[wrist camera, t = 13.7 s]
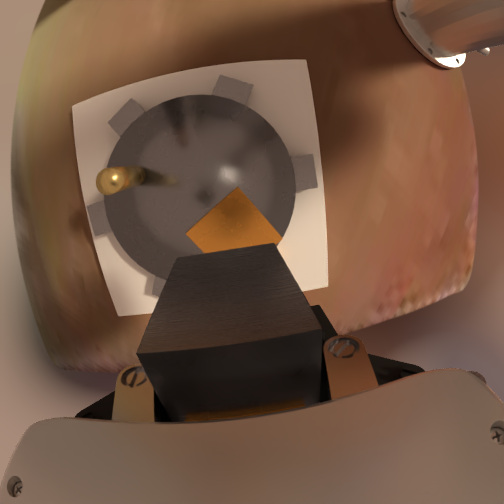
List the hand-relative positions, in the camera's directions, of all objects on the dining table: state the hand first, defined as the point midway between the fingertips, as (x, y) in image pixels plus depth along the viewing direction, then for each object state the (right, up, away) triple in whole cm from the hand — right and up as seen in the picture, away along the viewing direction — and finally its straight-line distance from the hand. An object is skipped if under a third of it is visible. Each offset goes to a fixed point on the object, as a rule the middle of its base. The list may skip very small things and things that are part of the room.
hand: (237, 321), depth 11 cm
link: (0, 0, 0) cm, 1 cm away
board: (-4, +9, +13) cm, 16 cm away
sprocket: (-4, +8, +12) cm, 15 cm away
